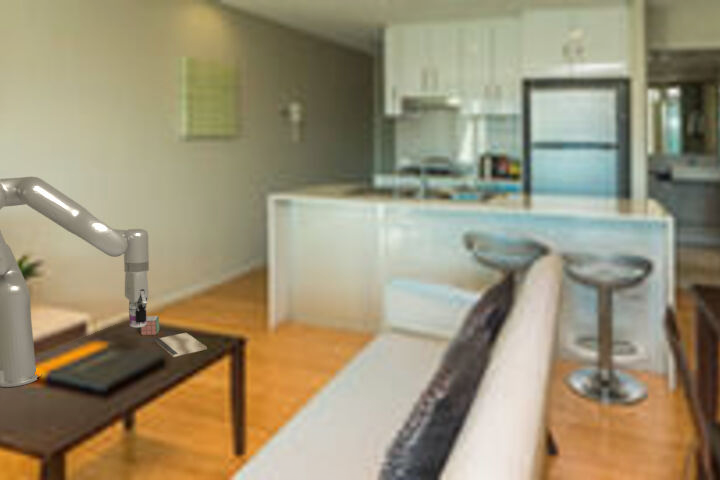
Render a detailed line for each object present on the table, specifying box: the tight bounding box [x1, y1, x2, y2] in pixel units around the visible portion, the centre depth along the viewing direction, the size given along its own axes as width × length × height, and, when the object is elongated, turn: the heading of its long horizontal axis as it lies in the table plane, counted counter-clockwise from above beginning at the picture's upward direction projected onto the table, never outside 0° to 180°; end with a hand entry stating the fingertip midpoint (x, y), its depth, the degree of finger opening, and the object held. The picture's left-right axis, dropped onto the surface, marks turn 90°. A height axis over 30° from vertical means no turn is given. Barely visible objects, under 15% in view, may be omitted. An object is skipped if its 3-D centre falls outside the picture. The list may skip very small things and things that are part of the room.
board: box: [154, 332, 208, 358], centre depth 202 cm, size 12×18×1 cm, turn 39°
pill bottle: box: [128, 299, 147, 328], centre depth 190 cm, size 5×5×10 cm
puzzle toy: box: [140, 315, 160, 336], centre depth 214 cm, size 6×6×6 cm
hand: (137, 318), depth 190 cm, fingers closed on pill bottle, 5 cm apart
